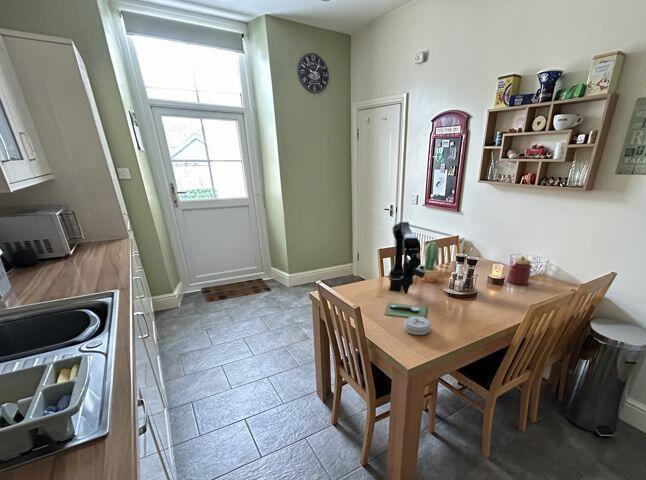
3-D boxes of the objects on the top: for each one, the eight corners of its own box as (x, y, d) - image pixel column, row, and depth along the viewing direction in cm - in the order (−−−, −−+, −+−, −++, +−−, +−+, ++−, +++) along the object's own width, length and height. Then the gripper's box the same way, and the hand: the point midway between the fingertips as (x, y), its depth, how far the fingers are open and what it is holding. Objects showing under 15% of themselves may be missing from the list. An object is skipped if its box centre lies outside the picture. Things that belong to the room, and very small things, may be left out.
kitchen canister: (531, 285, 211) (537, 259, 204) (511, 285, 212) (516, 258, 204) (523, 278, 223) (528, 253, 216) (504, 278, 223) (509, 253, 216)
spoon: (389, 310, 172) (389, 307, 171) (390, 306, 176) (390, 303, 176) (419, 313, 169) (419, 310, 169) (419, 310, 173) (419, 307, 173)
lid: (434, 335, 150) (435, 325, 148) (408, 337, 148) (409, 327, 145) (424, 322, 161) (425, 313, 159) (399, 324, 159) (400, 315, 157)
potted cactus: (444, 279, 219) (449, 242, 209) (432, 285, 209) (436, 246, 198) (424, 273, 228) (428, 238, 218) (412, 279, 218) (415, 242, 208)
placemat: (385, 314, 168) (385, 314, 168) (389, 303, 181) (389, 303, 181) (424, 319, 165) (424, 318, 164) (426, 307, 177) (426, 307, 177)
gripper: (424, 269, 155) (421, 299, 161) (426, 258, 171) (423, 285, 178) (400, 267, 157) (398, 296, 163) (405, 256, 173) (403, 283, 180)
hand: (407, 290), depth 171 cm, fingers open, 9 cm apart
